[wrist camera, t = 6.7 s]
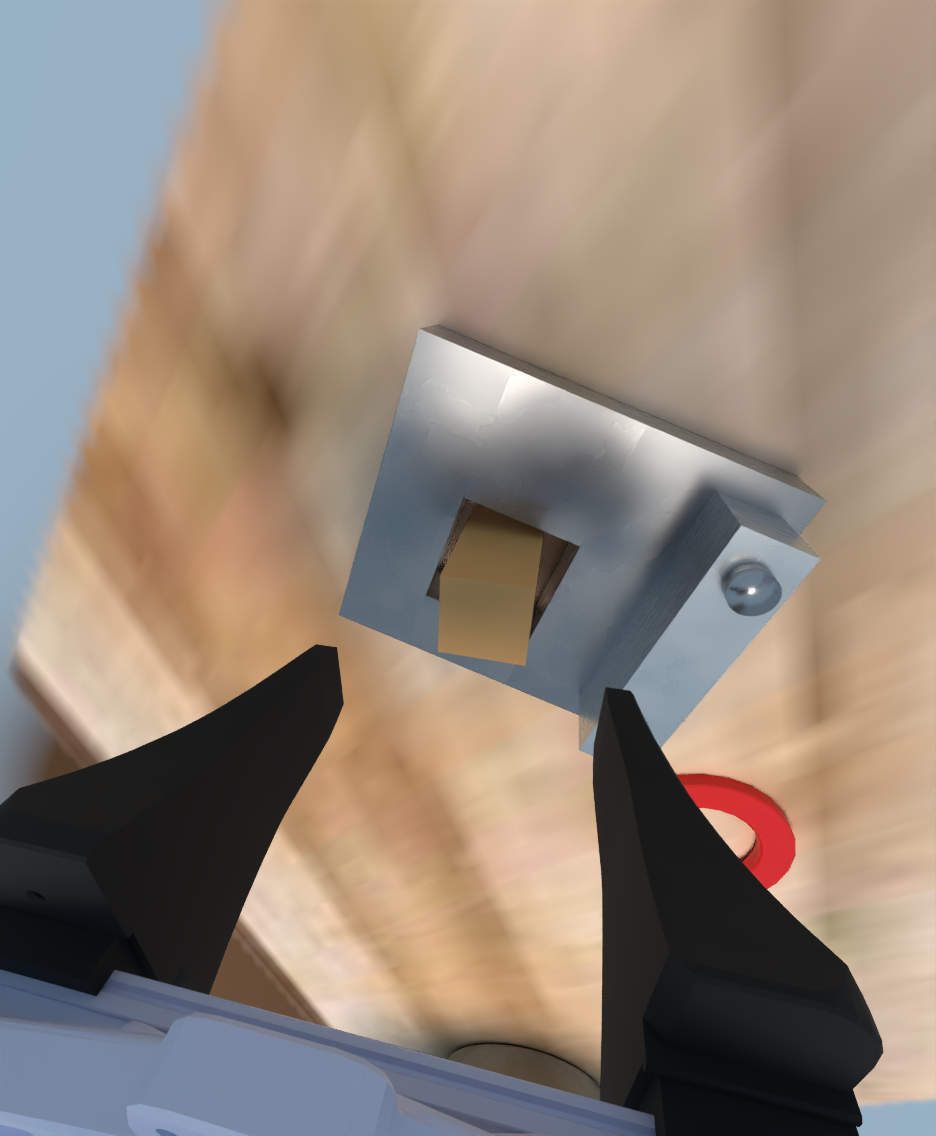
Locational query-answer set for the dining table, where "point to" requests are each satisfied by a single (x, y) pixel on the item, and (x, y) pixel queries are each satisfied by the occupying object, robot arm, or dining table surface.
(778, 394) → the dining table surface
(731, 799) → the tow hook
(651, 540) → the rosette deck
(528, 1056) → the plant pot
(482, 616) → the tan rectangular block
